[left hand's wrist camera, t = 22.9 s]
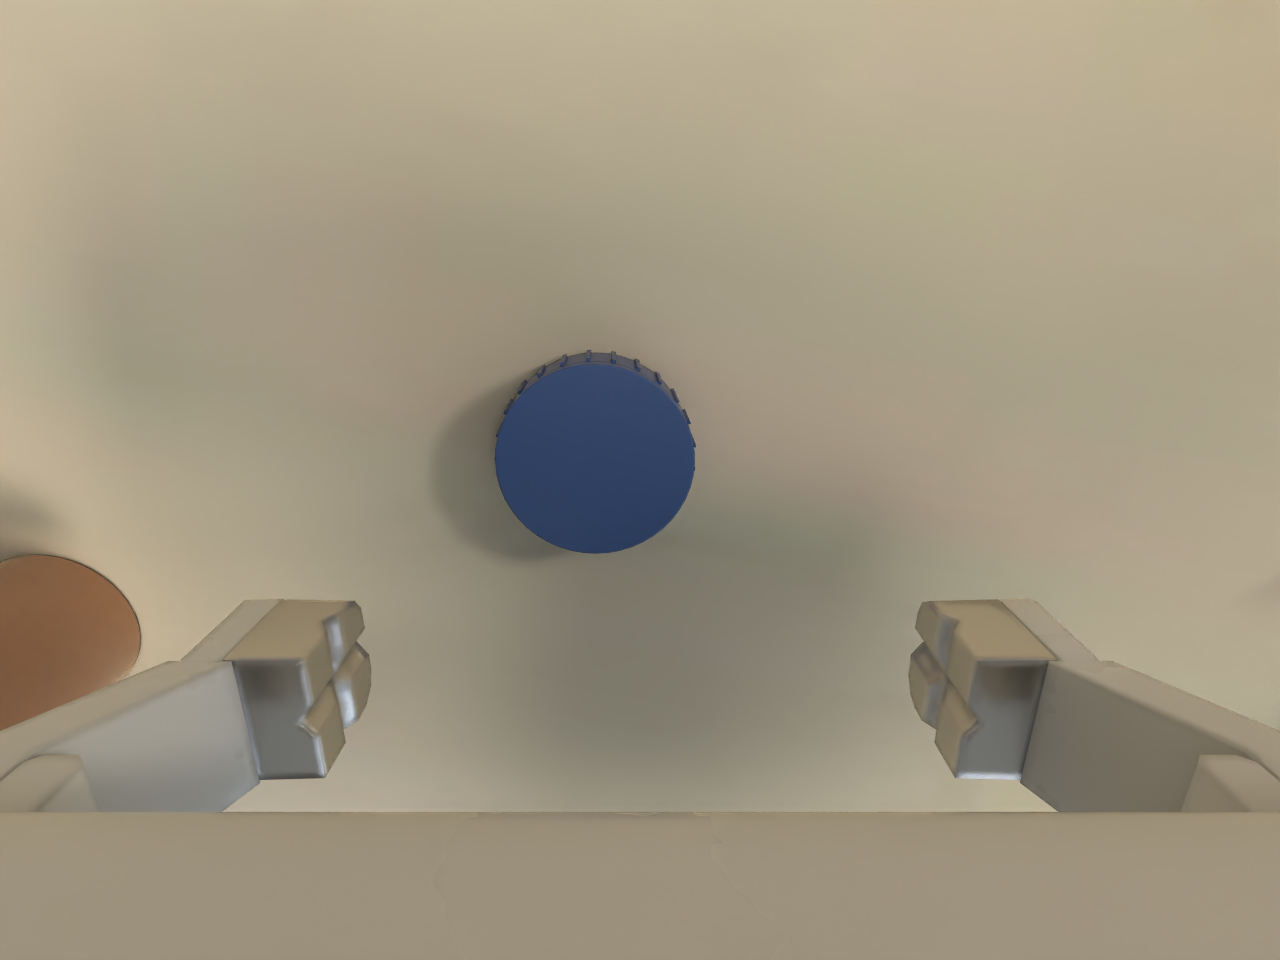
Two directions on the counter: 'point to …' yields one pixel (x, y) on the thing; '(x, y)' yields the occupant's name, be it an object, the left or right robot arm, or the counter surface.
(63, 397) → the counter surface
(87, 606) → the jar
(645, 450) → the lid
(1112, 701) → the left robot arm
